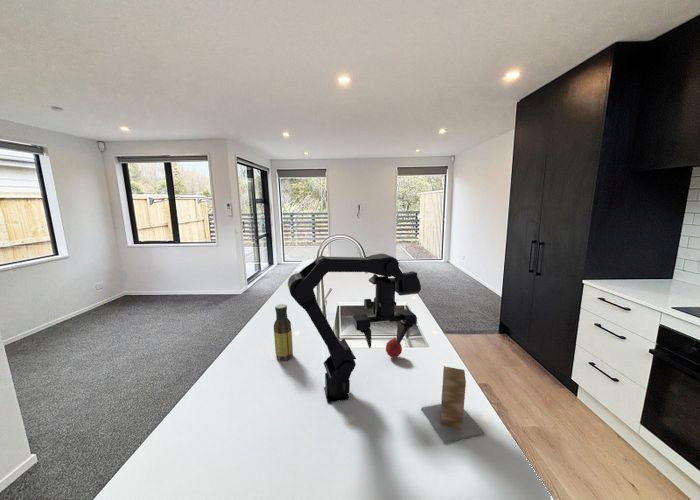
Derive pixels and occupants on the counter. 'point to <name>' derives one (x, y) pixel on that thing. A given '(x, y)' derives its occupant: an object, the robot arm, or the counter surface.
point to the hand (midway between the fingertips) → (383, 345)
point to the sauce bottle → (282, 334)
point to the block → (453, 397)
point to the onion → (393, 348)
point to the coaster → (451, 433)
